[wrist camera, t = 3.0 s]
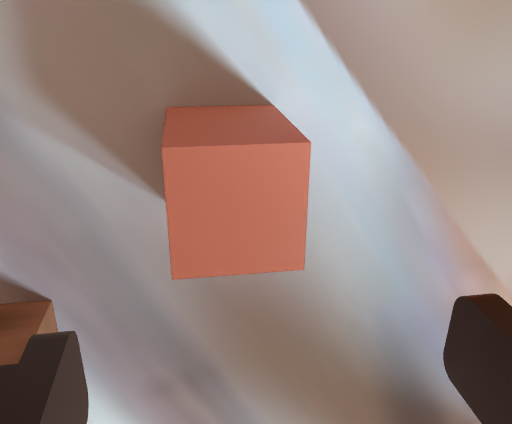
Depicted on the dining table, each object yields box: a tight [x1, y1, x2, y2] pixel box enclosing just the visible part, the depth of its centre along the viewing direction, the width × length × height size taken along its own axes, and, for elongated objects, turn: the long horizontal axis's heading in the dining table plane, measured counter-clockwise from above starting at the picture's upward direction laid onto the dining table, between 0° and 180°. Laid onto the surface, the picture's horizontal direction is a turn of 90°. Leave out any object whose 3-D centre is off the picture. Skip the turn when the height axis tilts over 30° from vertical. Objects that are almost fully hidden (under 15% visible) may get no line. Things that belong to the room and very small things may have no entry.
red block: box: [161, 105, 311, 280], centre depth 19 cm, size 5×5×7 cm
